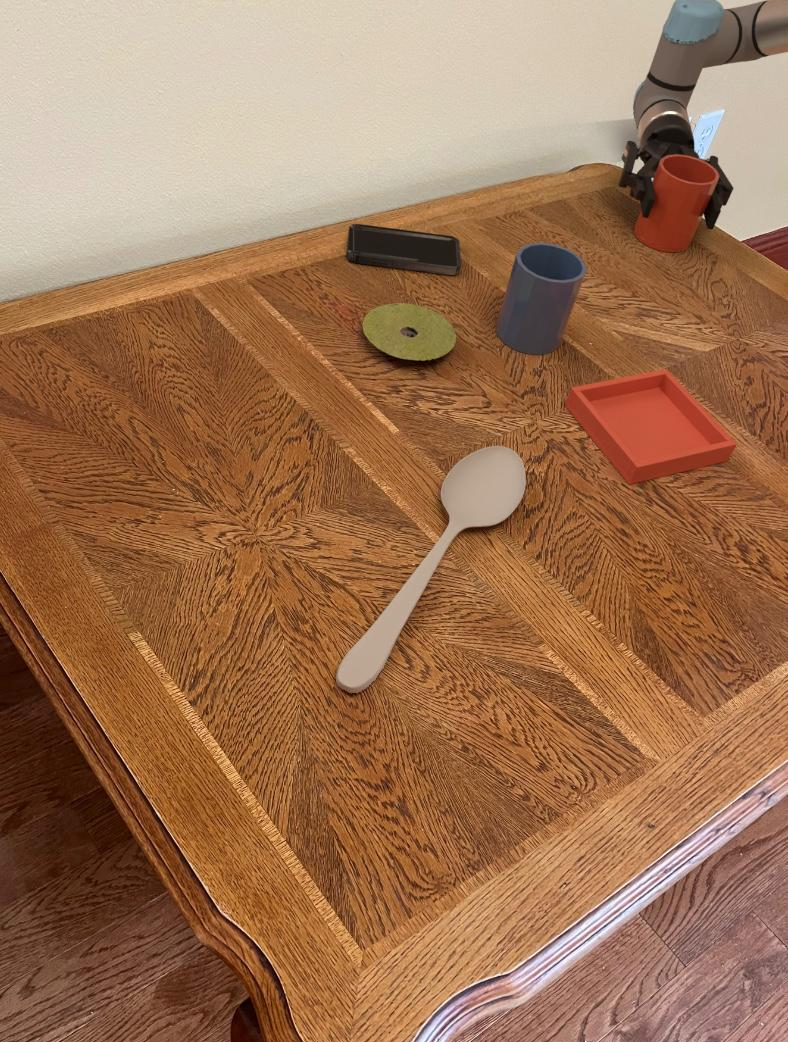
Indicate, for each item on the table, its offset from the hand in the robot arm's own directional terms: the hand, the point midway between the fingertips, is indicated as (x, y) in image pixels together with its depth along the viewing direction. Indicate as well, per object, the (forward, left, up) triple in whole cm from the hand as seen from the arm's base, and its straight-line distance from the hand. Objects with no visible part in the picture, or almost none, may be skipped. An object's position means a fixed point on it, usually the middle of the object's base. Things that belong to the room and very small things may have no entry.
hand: (681, 214), depth 128 cm
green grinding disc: (-10, +46, -6) cm, 47 cm away
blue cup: (-12, +30, -6) cm, 32 cm away
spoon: (-43, +59, -6) cm, 73 cm away
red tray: (-32, +26, -6) cm, 41 cm away
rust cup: (+4, -2, -6) cm, 8 cm away
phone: (+8, +38, -6) cm, 39 cm away
